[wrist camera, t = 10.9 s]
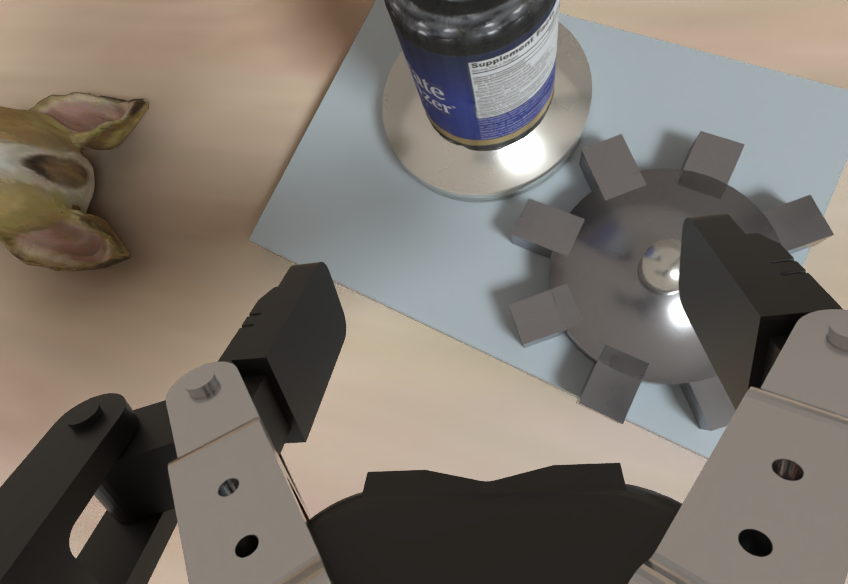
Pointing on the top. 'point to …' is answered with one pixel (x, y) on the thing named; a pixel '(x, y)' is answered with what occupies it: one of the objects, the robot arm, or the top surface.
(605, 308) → the gear
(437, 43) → the pill bottle
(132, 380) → the top surface
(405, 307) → the gear board
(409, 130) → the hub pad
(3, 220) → the ceramic sculpture
